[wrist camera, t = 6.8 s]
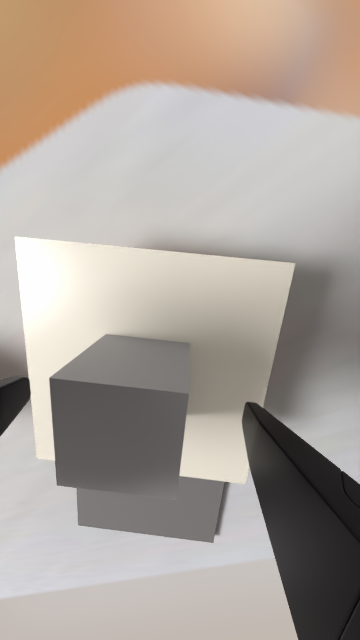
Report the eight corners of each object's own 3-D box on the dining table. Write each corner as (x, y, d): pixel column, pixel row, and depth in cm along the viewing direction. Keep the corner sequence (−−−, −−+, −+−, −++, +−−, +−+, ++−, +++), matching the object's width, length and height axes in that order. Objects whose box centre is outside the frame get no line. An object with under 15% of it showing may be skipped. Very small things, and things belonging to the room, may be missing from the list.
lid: (286, 263, 9) (384, 258, 5) (242, 470, 12) (273, 594, 8) (29, 239, 10) (-125, 211, 5) (46, 446, 13) (-39, 551, 8)
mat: (233, 422, 17) (234, 428, 16) (212, 534, 20) (213, 542, 19) (77, 404, 17) (73, 409, 16) (81, 517, 20) (78, 525, 20)
